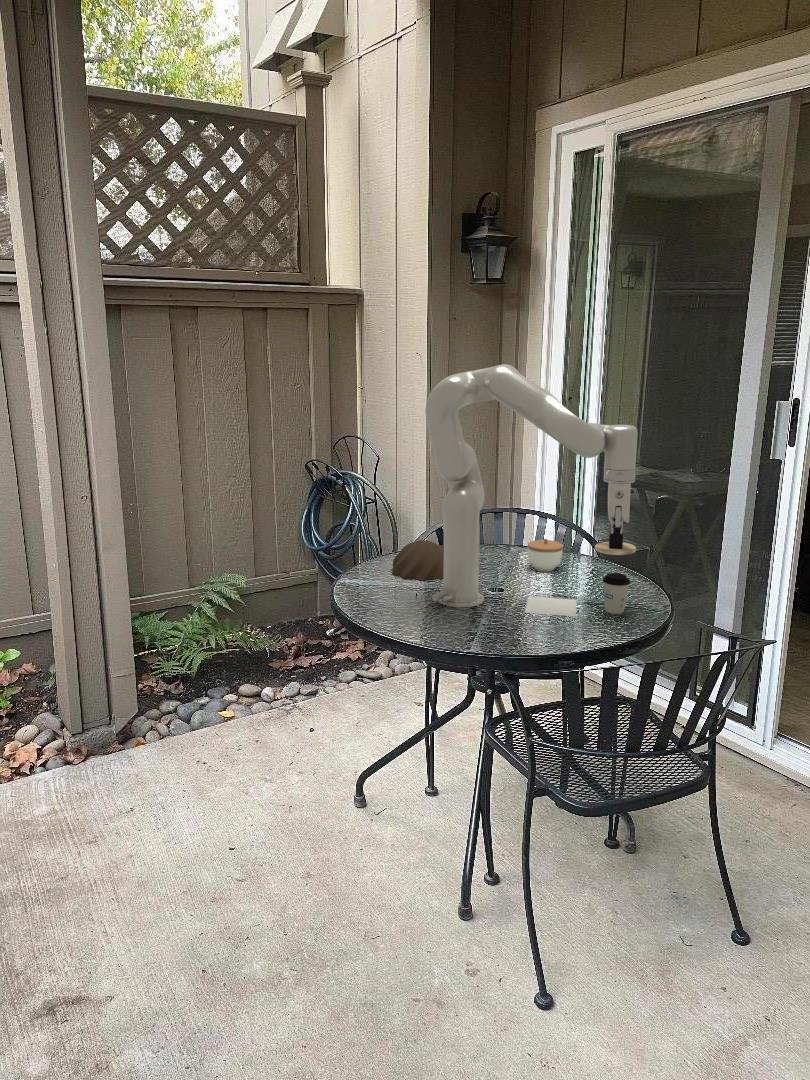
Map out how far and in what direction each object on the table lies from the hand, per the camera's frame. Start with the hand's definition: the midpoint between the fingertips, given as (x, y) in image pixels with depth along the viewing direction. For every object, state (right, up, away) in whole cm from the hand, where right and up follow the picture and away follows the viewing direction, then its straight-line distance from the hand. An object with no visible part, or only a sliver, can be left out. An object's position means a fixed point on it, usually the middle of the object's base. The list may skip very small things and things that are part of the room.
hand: (615, 546), depth 198 cm
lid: (0, -1, 0) cm, 1 cm away
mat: (-15, -16, +8) cm, 23 cm away
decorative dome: (-48, -8, +39) cm, 63 cm away
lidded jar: (-10, -7, +42) cm, 44 cm away
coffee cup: (+1, -18, +4) cm, 18 cm away
